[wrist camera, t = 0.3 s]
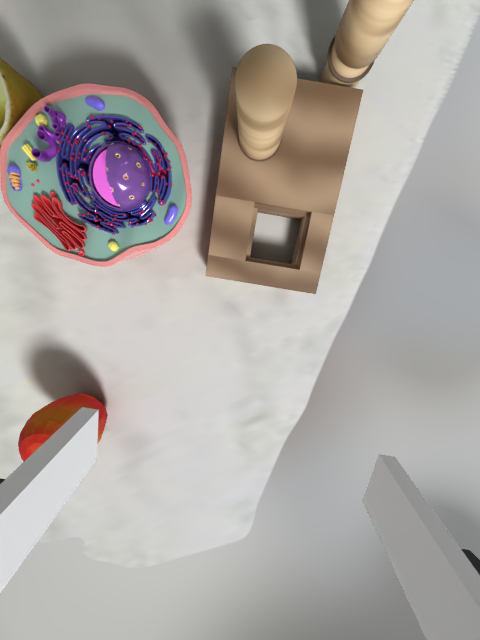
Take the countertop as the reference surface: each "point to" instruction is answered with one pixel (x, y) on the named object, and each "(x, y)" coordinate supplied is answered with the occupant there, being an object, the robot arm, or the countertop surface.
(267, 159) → the board
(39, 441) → the apple
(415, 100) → the countertop surface
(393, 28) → the peg
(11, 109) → the mug
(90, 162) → the cell model
